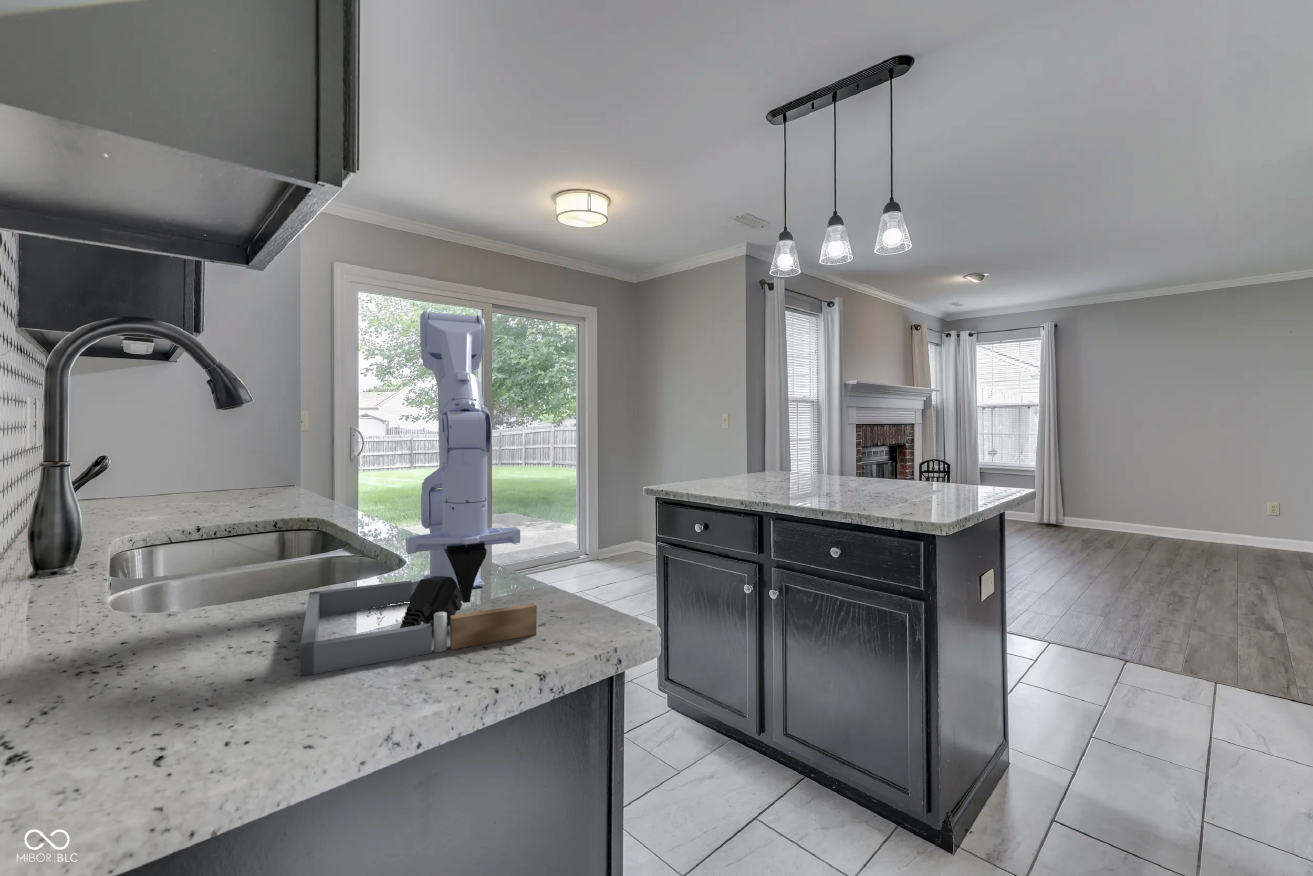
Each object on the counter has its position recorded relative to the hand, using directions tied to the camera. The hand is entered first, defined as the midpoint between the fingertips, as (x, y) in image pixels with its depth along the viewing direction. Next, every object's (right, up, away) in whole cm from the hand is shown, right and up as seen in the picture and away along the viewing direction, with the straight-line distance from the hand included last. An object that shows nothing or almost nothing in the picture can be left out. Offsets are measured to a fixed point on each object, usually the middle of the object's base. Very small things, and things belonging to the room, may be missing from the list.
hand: (465, 600), depth 77 cm
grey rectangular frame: (-10, -2, -5) cm, 11 cm away
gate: (+6, -2, -8) cm, 11 cm away
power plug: (-3, -3, -7) cm, 8 cm away
